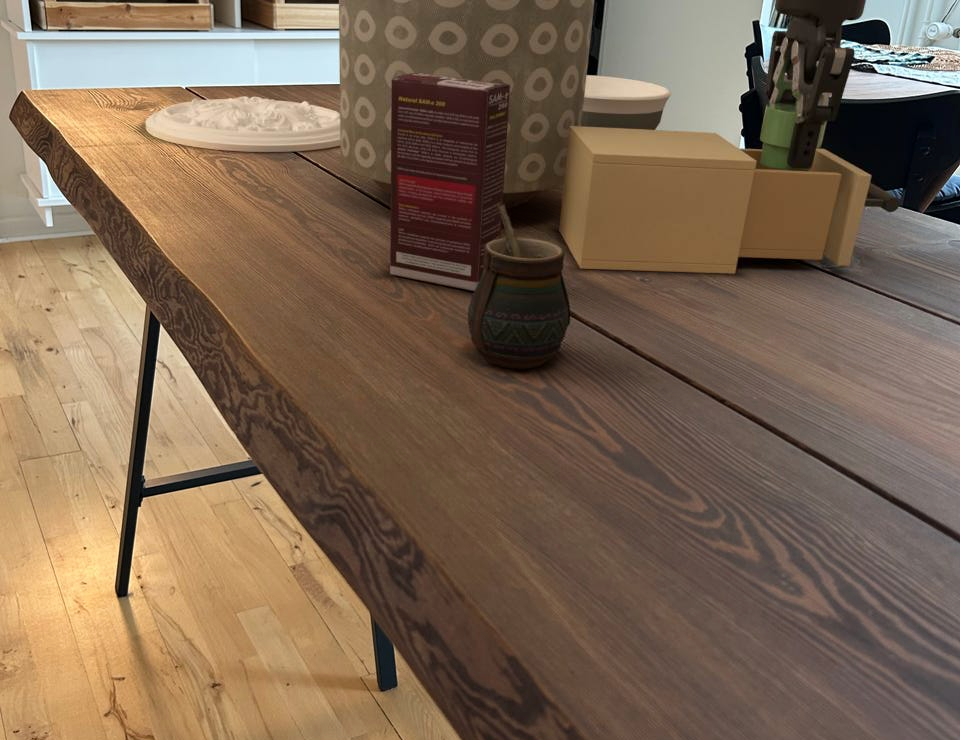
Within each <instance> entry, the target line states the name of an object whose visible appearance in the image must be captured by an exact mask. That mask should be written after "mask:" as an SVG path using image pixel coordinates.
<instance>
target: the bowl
mask: <svg viewBox="0 0 960 740" xmlns="http://www.w3.org/2000/svg"><path fill="white" fill-rule="evenodd" d="M671 95H672V93H671V91H670V89H668V88H667V87H664V86H662V85H659V84H655V83H653V82H652V83H651V82H647V81H644V80H643V81H642V80H636V79H631V78H624V77H614V76H604V75H592V74H591V75H590V74H587V76H586V85H585V95H584V104H583V114H582V123H581V126H582V127H603V128H623V129H644V130H657V128H658V126H659V125H660V123H661V121H662V117H663V113H664V109H665V107H666V104H667V102H668V100H669V99H670V97H671Z"/></svg>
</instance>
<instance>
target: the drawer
mask: <svg viewBox="0 0 960 740" xmlns="http://www.w3.org/2000/svg"><path fill="white" fill-rule="evenodd" d="M737 148H738V149H740V150H741V151H743V152H744V153H746V154H747V155H749V156H750V157H751V158H753V159H754V160H756V161H757V162H756V167H755V172H754V177H753V183H752V188H751V193H750V198H749V203H748V209H747V214H746V219H745V224H744V229H743V235H742V240H741V245H740V250H739V255H738V258H756V259H760V258H761V259H763V258H764V259H783V260H784V259H785V260H786V259H787V260H811V261H812V260H813V261H822V260H823V256H824V257H826V258H827V259H828V260H829V261H830V262H832V263H834V265H836V266H838V267H850V264H851V260H852V255H853V252H854V248H855V243H856V240H857V235H858V232H859V228H860V224H861V220H862V216H863V212H864V208H865V207H869V208H870V207H871V208H881V209H883V210H884V211H886V212H888V213H893V212H895V211H897V210H898V209H899V206H900V199H899V198H898V197H896V196H894V195H892V194H890V193H889V192H887V191H885V190H884V189H882V188H881V187H879V186H877V185H875V184H874V183H872V182H871V180H872V174H870V173H868V172H866V171H864V170H863V169H861V168H859V167H857V166H856V165H854V164H852V163H850V162H849V161H846V160H844V159H843V158H841V157H839V156H838V155H836V154H834V153H832V152H830V151H829V150H827V149H825V148H816V152H815V156H814V161H813V165H812V169H810V170H806V171H790V170H781V169H775V168H771V167H767V166H764V165H762V164H761V163H760V158H761V153H762V149H759V148H758V149H757V148H739V147H737Z"/></svg>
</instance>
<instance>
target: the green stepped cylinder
mask: <svg viewBox="0 0 960 740" xmlns="http://www.w3.org/2000/svg"><path fill="white" fill-rule="evenodd" d="M796 107H797V104H787V103H773V104H769V103H768V104H766V105H765V110H764V115H763V120H762V125H761V131H760V137H759V141H761V142H762V153H761V158H760V163H761V164H762V165H764V166H767V167H771V168H775V169H781V170H790V171H809V170H810V169H812V166H811V167H810V168H792V167H791V166H789V165H788V164H787V159H788V154H789V149H790V144H791V139H792V135H793V130H794V125H795V123H796ZM827 122H828V121H826V123H825V125H821V129H820V134H819V138H818V143H817V147H816V149H821V148H822V145H823V140H824V135H825V132H826V127H827ZM812 165H813V164H812Z"/></svg>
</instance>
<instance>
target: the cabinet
mask: <svg viewBox="0 0 960 740" xmlns="http://www.w3.org/2000/svg"><path fill="white" fill-rule="evenodd" d="M738 148H739V147H737V146H735V144H732V143H731V142H730V141H729V140H727V139H725V138H724V137H723V136H721V135H720V134H718V133H716V132H703V131H686V130H685V131H683V130H682V131H681V130H665V129H664V130H663V129H662V130H661V129H655V130H644V129H623V128H603V127H582V126H570V127H569V137H568V147H567V157H566V167H565V177H564V185H563V188H562V197H561V207H560V218H559V227H558V231H559V233H560V234H561V236H562V238H563V240H564V242H565V244H566V245H567V247H568V249H569V251H570V252H571V255H572V256H573V258H574V260H575V261H576V263H577V265H578V267H579V269H582V270H583V269H585V270H608V271H612V270H613V271H637V272H639V271H641V272H642V271H643V272H670V273H672V272H673V273H696V274H697V273H698V274H700V273H701V274H732V275H735V274H736V272H737V266H738V260H739V257H738V255H739V250H740V245H741V240H742V235H743V229H744V224H745V219H746V214H747V209H748V203H749V198H750V193H751V188H752V183H753V177H754V172H755V167H756V162H757V161H756V160H754V159H753V158H751V157H750V156H749V155H747V154H746V153H744V152H743V151H741V150H740V149H741V148H740V149H738Z"/></svg>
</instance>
